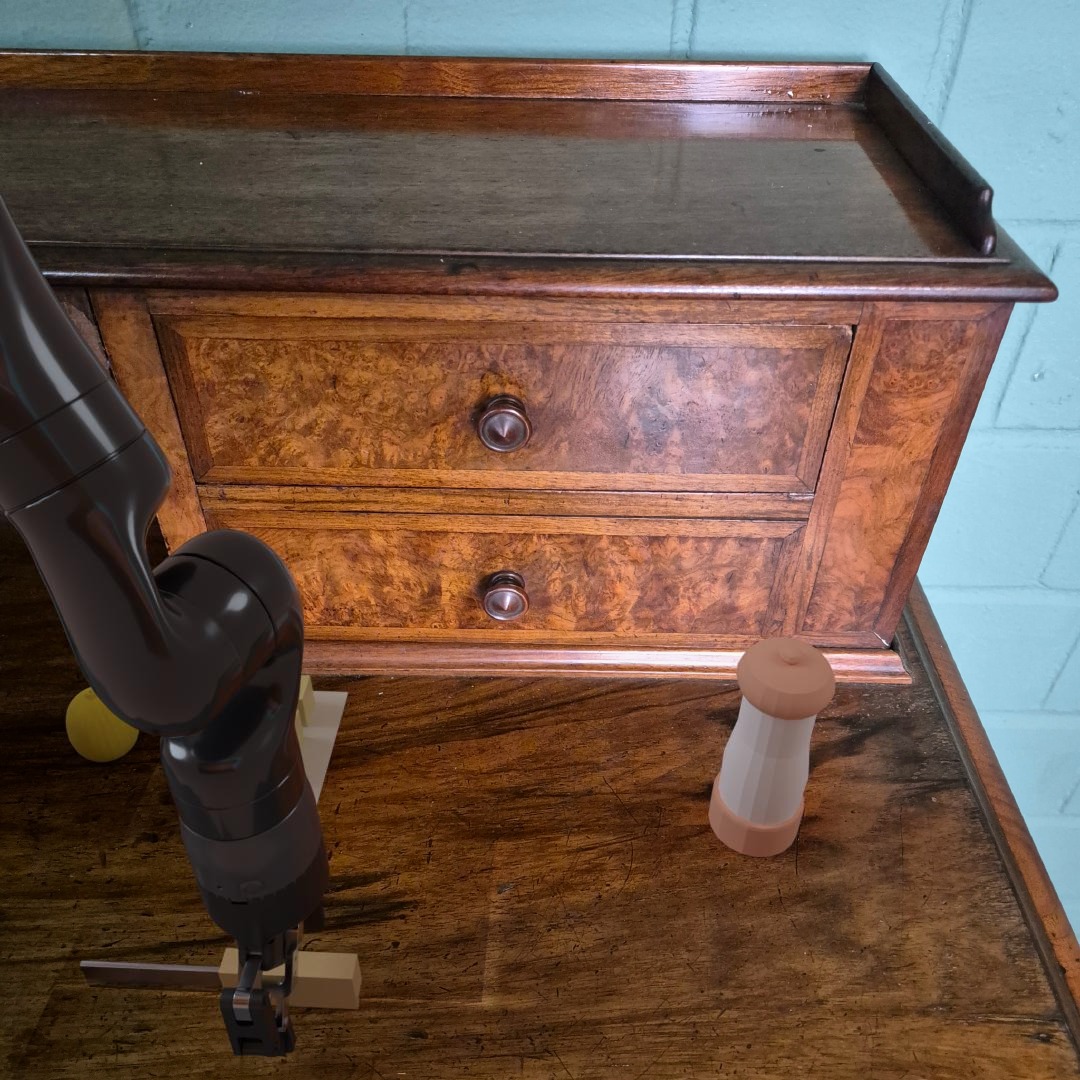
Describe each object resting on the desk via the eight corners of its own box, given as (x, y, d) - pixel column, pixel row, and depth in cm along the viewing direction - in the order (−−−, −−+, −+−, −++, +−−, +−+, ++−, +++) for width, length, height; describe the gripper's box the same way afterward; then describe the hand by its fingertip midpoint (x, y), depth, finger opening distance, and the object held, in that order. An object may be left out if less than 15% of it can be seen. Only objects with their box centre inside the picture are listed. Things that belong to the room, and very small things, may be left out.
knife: (85, 997, 66) (69, 966, 63) (96, 972, 67) (81, 941, 65) (358, 1009, 65) (352, 979, 63) (363, 984, 67) (357, 953, 64)
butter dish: (196, 811, 78) (194, 804, 78) (243, 693, 89) (242, 687, 89) (316, 816, 78) (315, 809, 78) (349, 697, 89) (348, 691, 88)
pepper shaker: (726, 864, 75) (764, 693, 64) (696, 791, 81) (725, 622, 69) (812, 849, 76) (863, 678, 65) (776, 778, 82) (817, 610, 71)
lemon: (69, 756, 83) (42, 692, 78) (129, 722, 86) (106, 658, 81) (100, 792, 80) (73, 726, 75) (160, 755, 83) (138, 690, 78)
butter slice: (257, 725, 85) (251, 697, 83) (266, 700, 87) (260, 673, 85) (307, 727, 85) (302, 699, 83) (315, 702, 87) (310, 675, 85)
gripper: (229, 743, 61) (269, 890, 71) (147, 950, 50) (208, 1091, 60) (344, 747, 61) (368, 894, 71) (288, 956, 50) (326, 1097, 59)
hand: (295, 984), depth 65 cm, fingers open, 8 cm apart
